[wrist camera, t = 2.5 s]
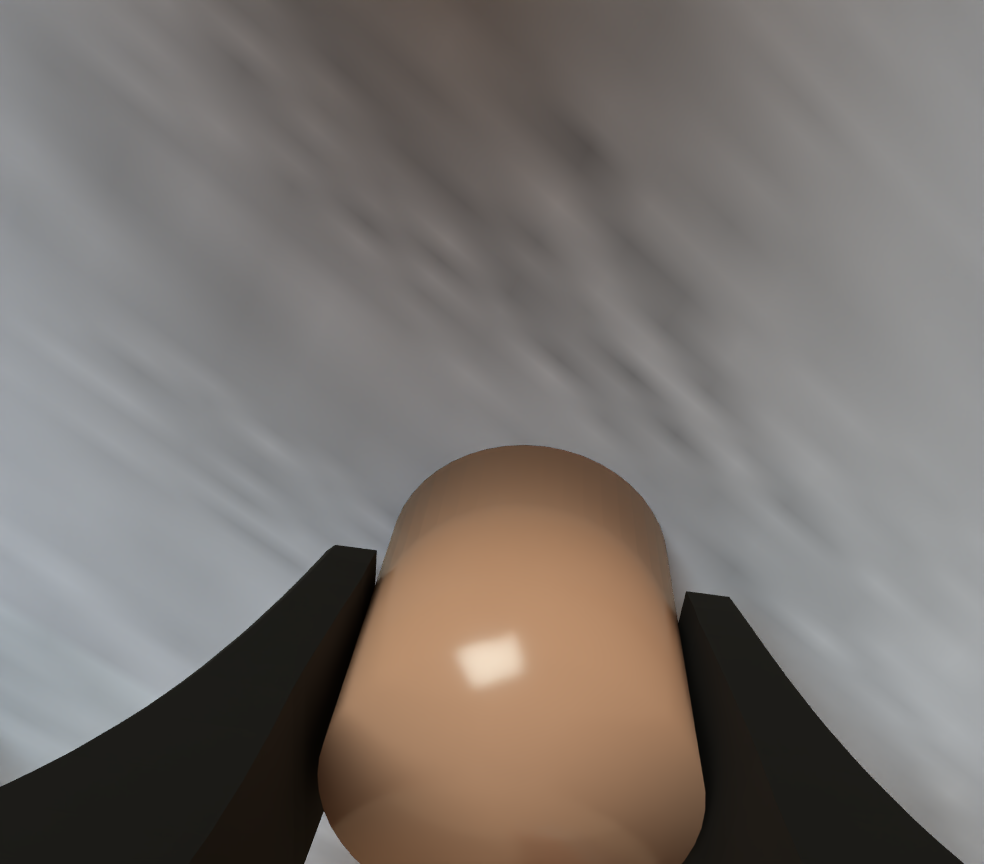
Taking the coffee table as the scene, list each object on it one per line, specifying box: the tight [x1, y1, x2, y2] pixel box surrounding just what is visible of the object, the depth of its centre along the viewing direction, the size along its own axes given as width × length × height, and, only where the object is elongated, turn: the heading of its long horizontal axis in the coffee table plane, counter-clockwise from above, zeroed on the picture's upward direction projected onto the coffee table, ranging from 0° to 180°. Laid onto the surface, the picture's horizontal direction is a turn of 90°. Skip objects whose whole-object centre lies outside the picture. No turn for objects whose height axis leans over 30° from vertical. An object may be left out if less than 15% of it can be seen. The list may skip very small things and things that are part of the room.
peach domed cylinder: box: [318, 445, 705, 864], centre depth 12 cm, size 4×4×4 cm
